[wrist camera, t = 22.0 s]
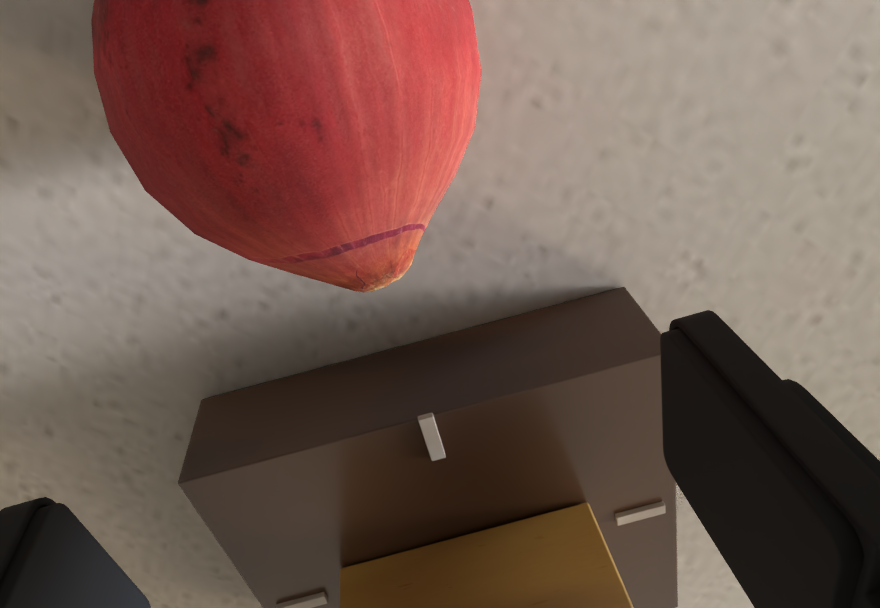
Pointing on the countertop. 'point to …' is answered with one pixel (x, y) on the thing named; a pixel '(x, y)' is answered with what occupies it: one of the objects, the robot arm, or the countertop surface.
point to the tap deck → (444, 451)
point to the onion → (294, 122)
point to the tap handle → (497, 569)
